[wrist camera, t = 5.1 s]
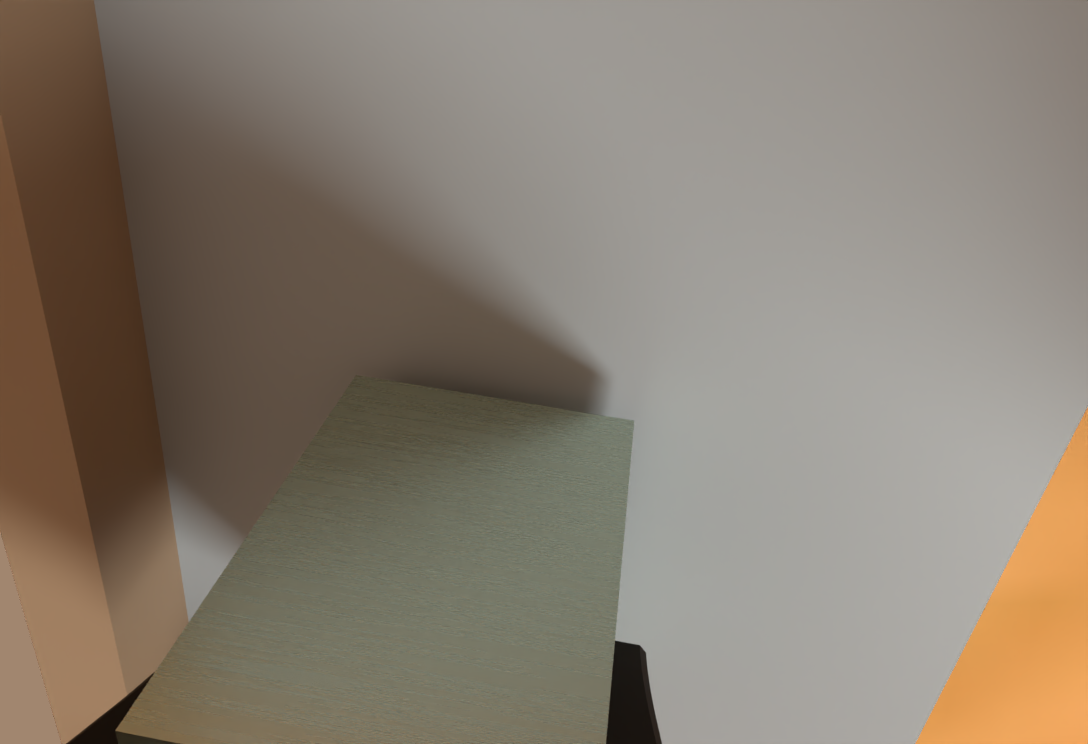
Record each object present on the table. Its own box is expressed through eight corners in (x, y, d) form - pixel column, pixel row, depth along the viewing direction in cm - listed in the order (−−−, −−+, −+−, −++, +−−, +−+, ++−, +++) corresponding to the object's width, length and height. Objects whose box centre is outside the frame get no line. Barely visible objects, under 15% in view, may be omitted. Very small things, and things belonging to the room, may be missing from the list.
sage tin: (634, 420, 12) (598, 825, 7) (580, 707, 15) (527, 1142, 10) (345, 373, 12) (97, 726, 7) (349, 664, 15) (178, 1062, 10)
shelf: (1527, -608, 7) (1982, -871, 5) (746, 1022, 23) (755, 1169, 20) (-118, -735, 8) (-470, -1006, 6) (196, 906, 24) (137, 1031, 21)
